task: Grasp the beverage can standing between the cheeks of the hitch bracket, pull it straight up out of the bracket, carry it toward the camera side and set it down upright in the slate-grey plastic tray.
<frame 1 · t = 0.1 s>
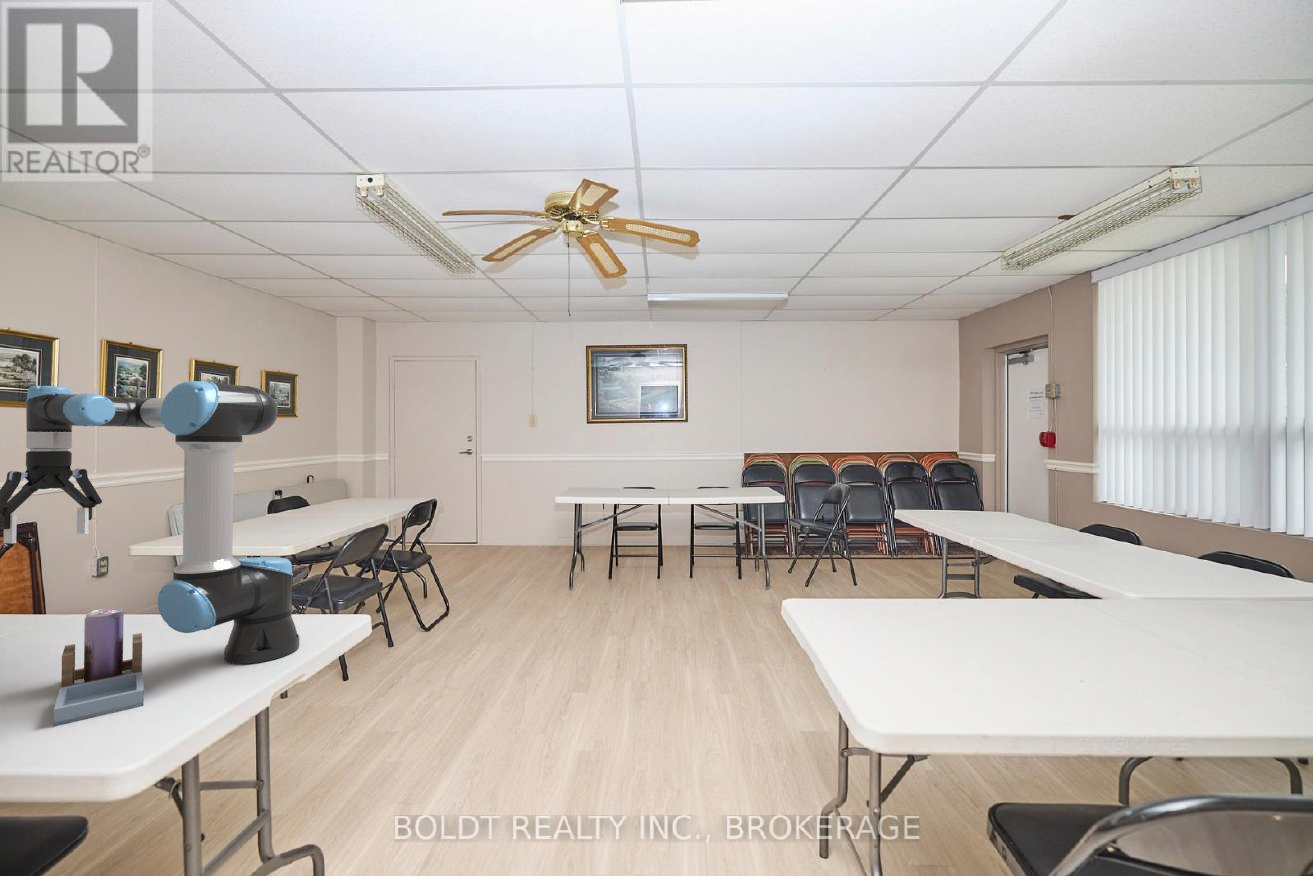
hand: (48, 538, 136), 28 cm above the table, fingers open, 13 cm apart
hitch bracket: (103, 681, 121), on the table
beverage can: (103, 682, 121), resting in hitch bracket
tray: (101, 704, 110), on the table
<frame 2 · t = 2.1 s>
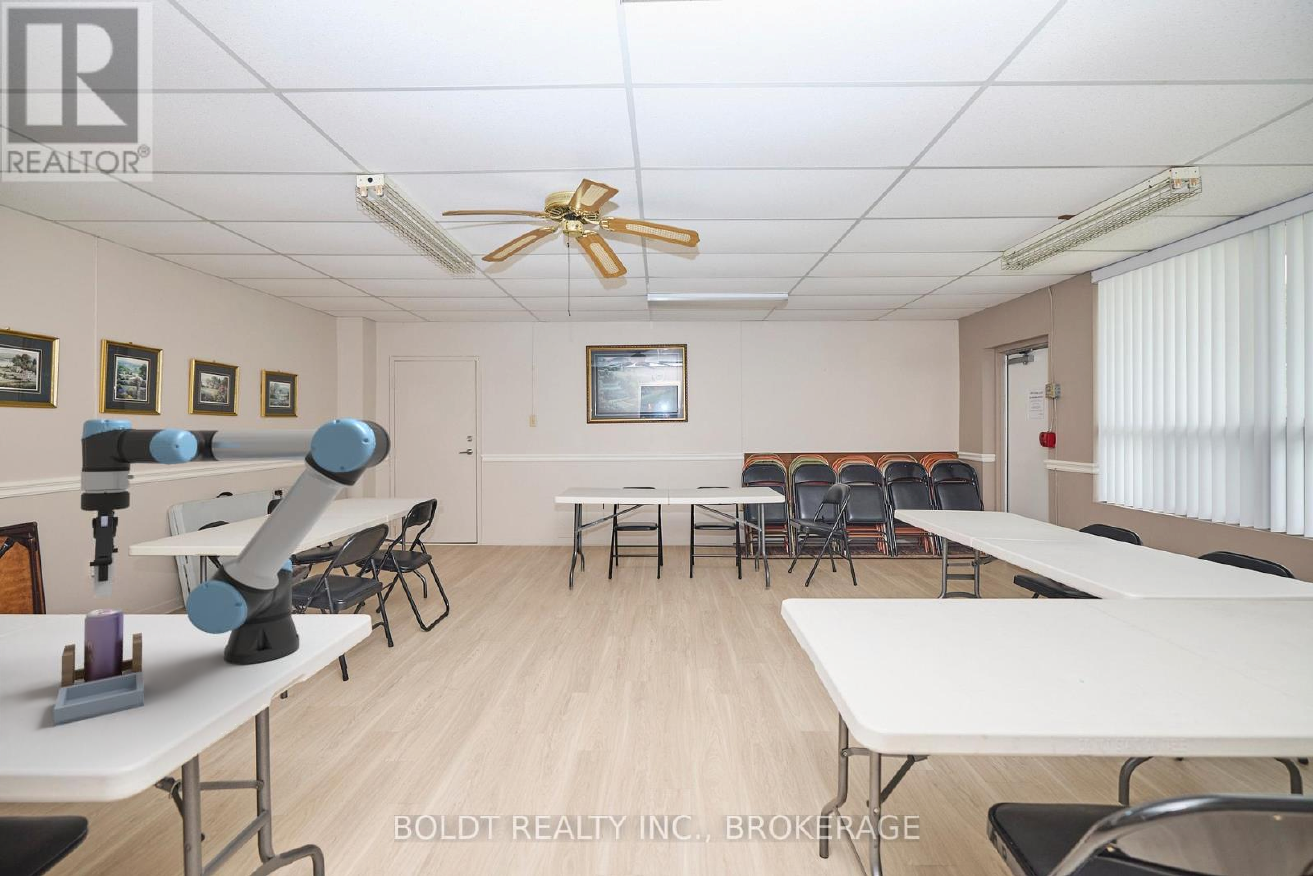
hand: (104, 590, 121), 20 cm above the table, fingers open, 13 cm apart
nothing on the table moved.
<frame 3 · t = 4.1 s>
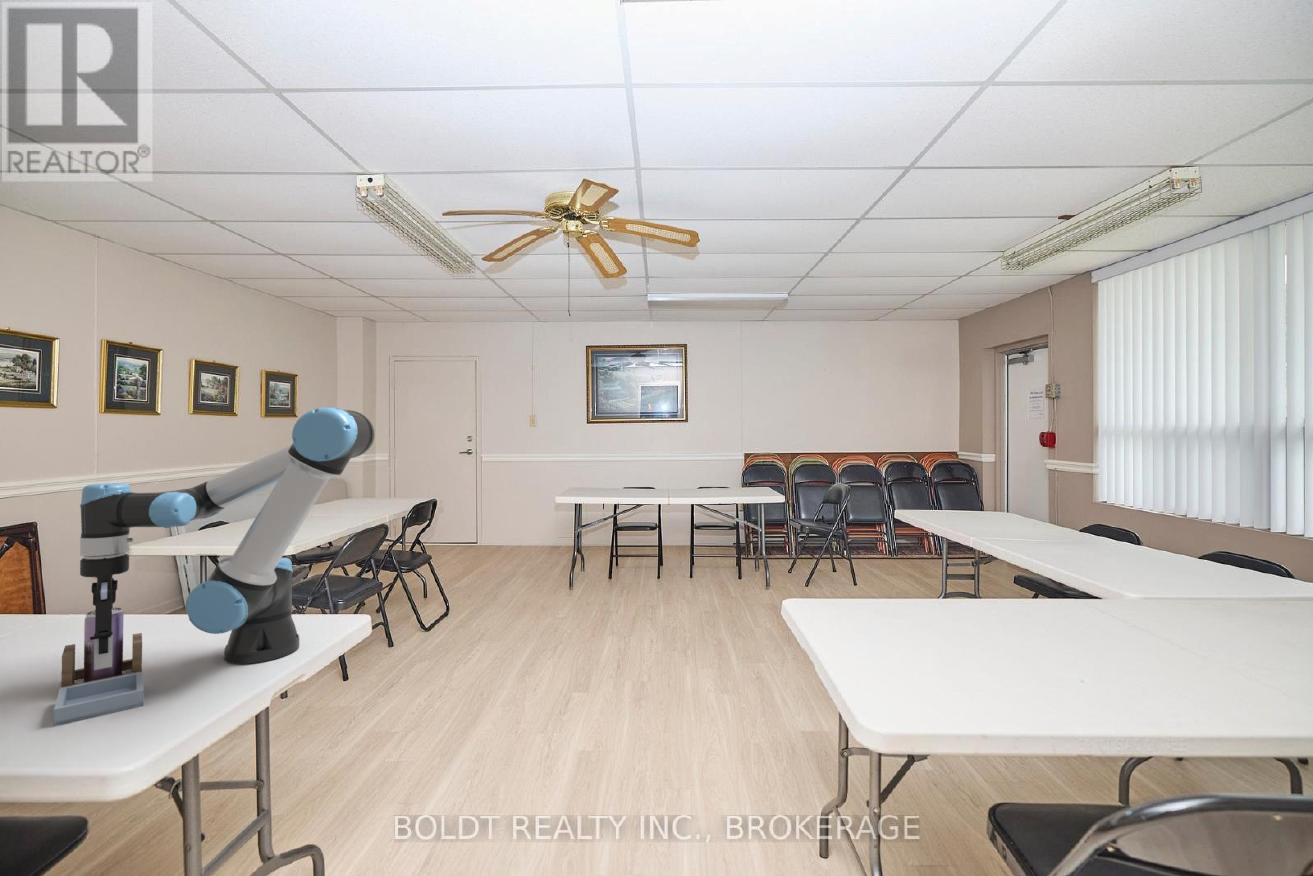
hand: (103, 663, 121), 4 cm above the table, fingers closed on beverage can, 6 cm apart
beverage can: (103, 682, 121), resting in hitch bracket, touching gripper
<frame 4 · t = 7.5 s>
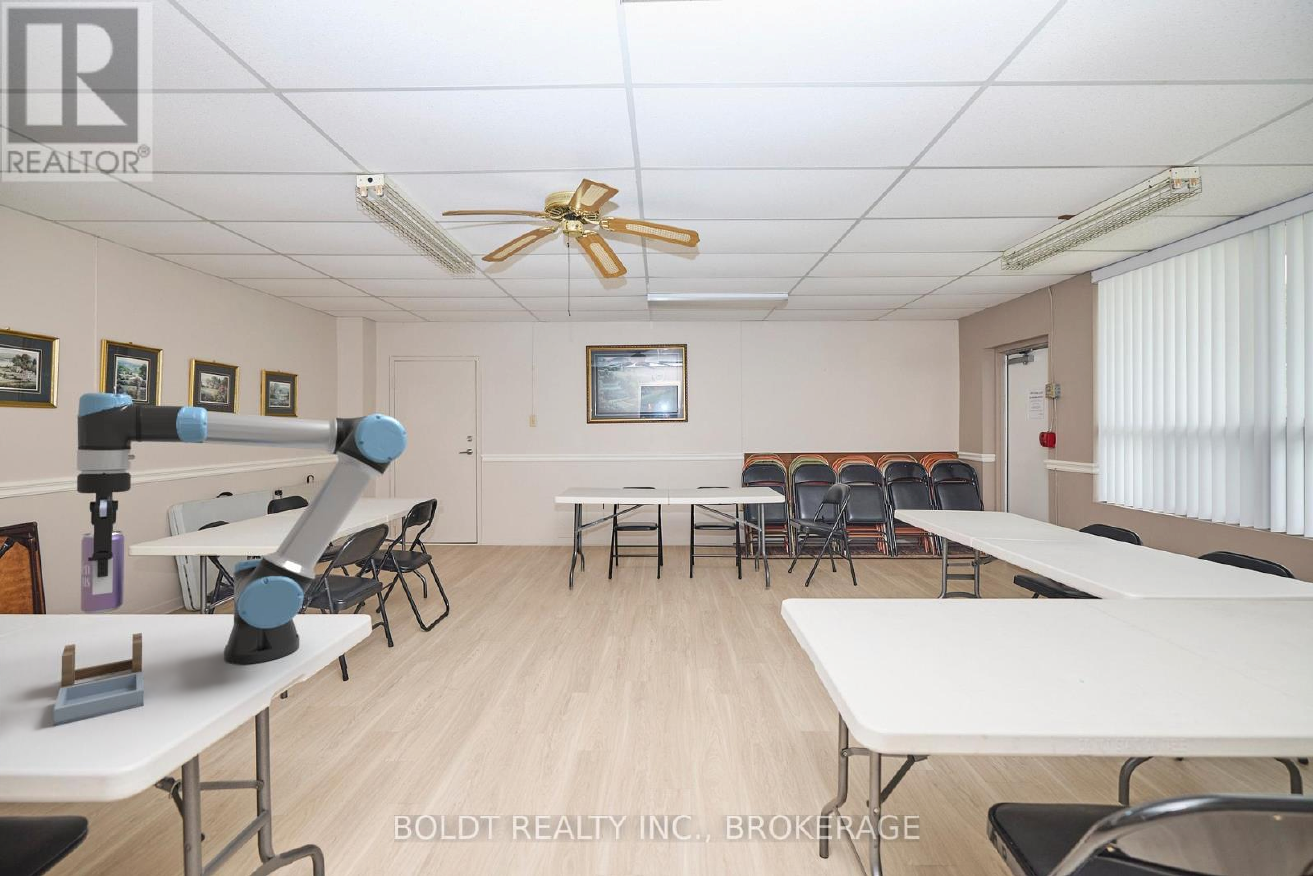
hand: (103, 589, 110), 22 cm above the table, fingers closed on beverage can, 6 cm apart
beverage can: (102, 610, 110), point 18 cm above the table, touching gripper
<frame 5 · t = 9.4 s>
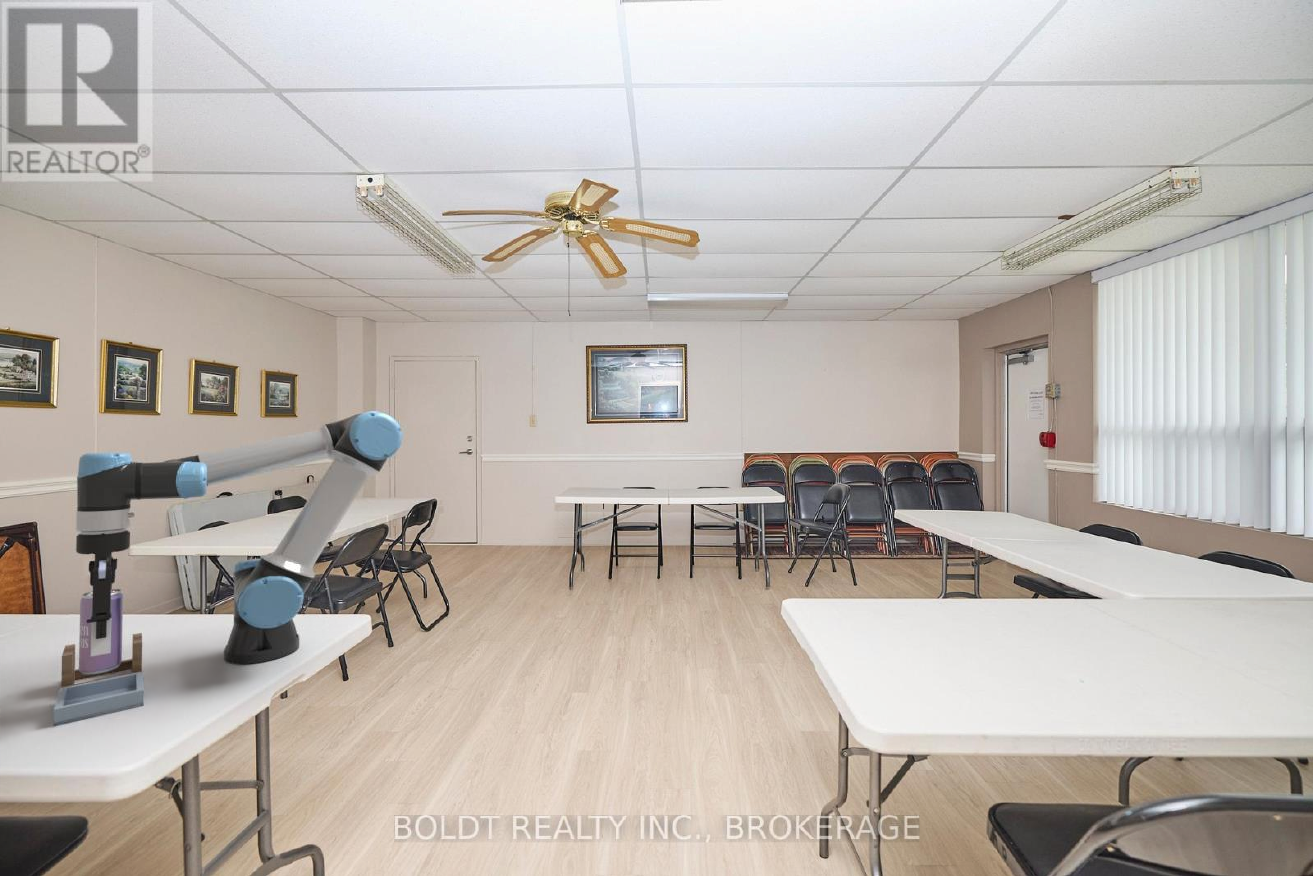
hand: (101, 649, 110), 11 cm above the table, fingers closed on beverage can, 6 cm apart
beverage can: (100, 670, 110), point 7 cm above the table, touching gripper
when the fingers open (6 cm above the table, at t = 10.8 s): beverage can drops 1 cm, resting on tray.
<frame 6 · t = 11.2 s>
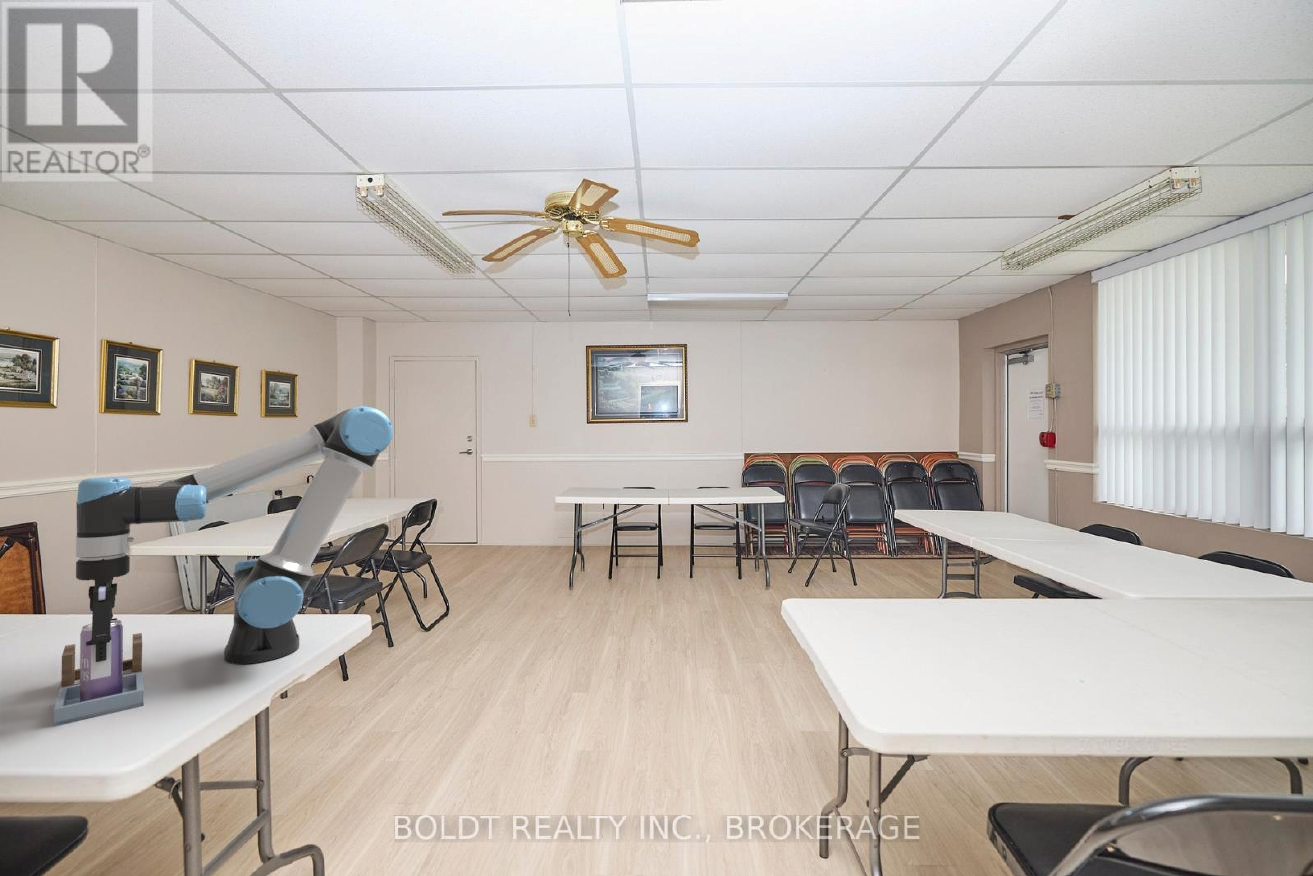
hand: (102, 667, 110), 7 cm above the table, fingers open, 11 cm apart
beverage can: (101, 702, 110), resting on tray
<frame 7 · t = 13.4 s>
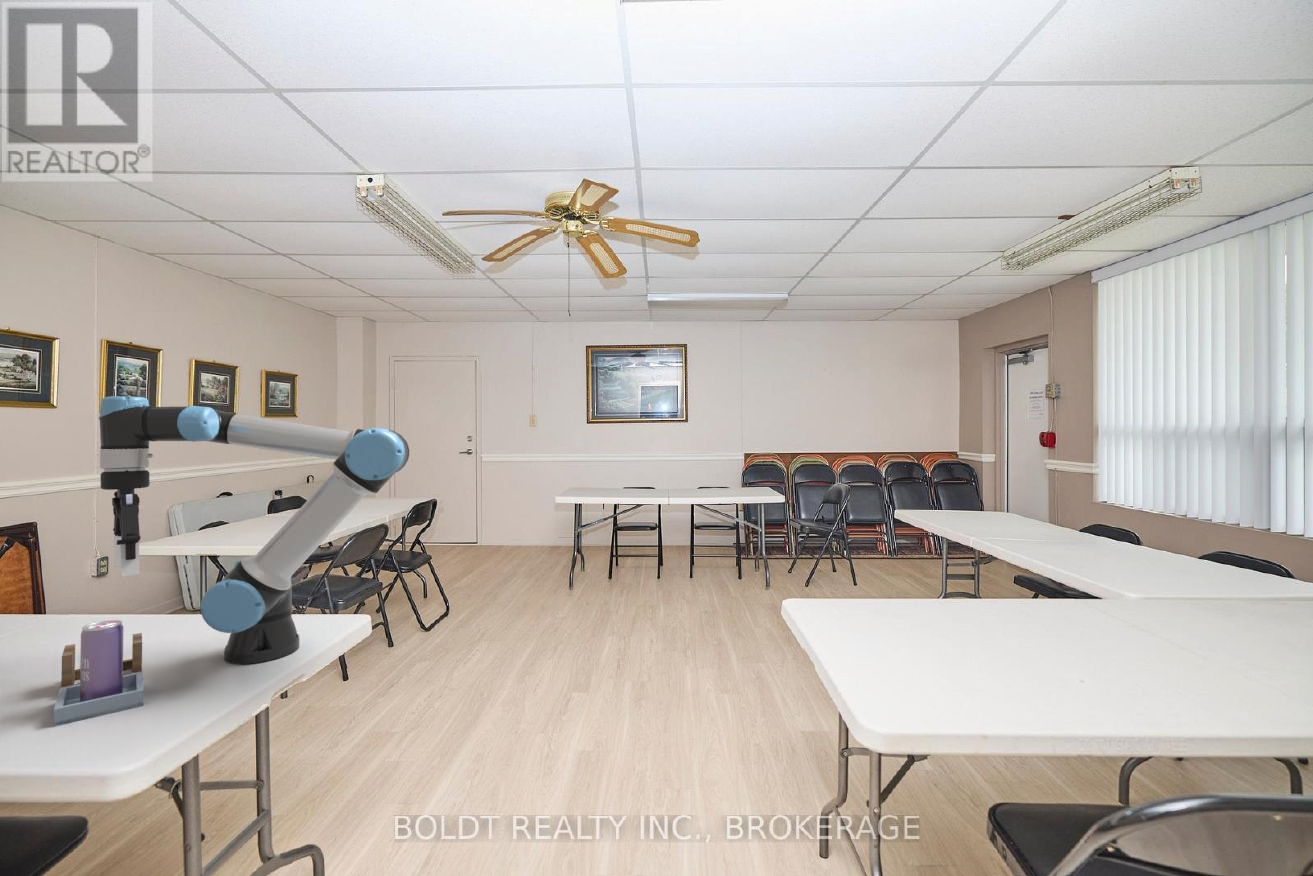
hand: (126, 570, 119), 24 cm above the table, fingers open, 13 cm apart
nothing on the table moved.
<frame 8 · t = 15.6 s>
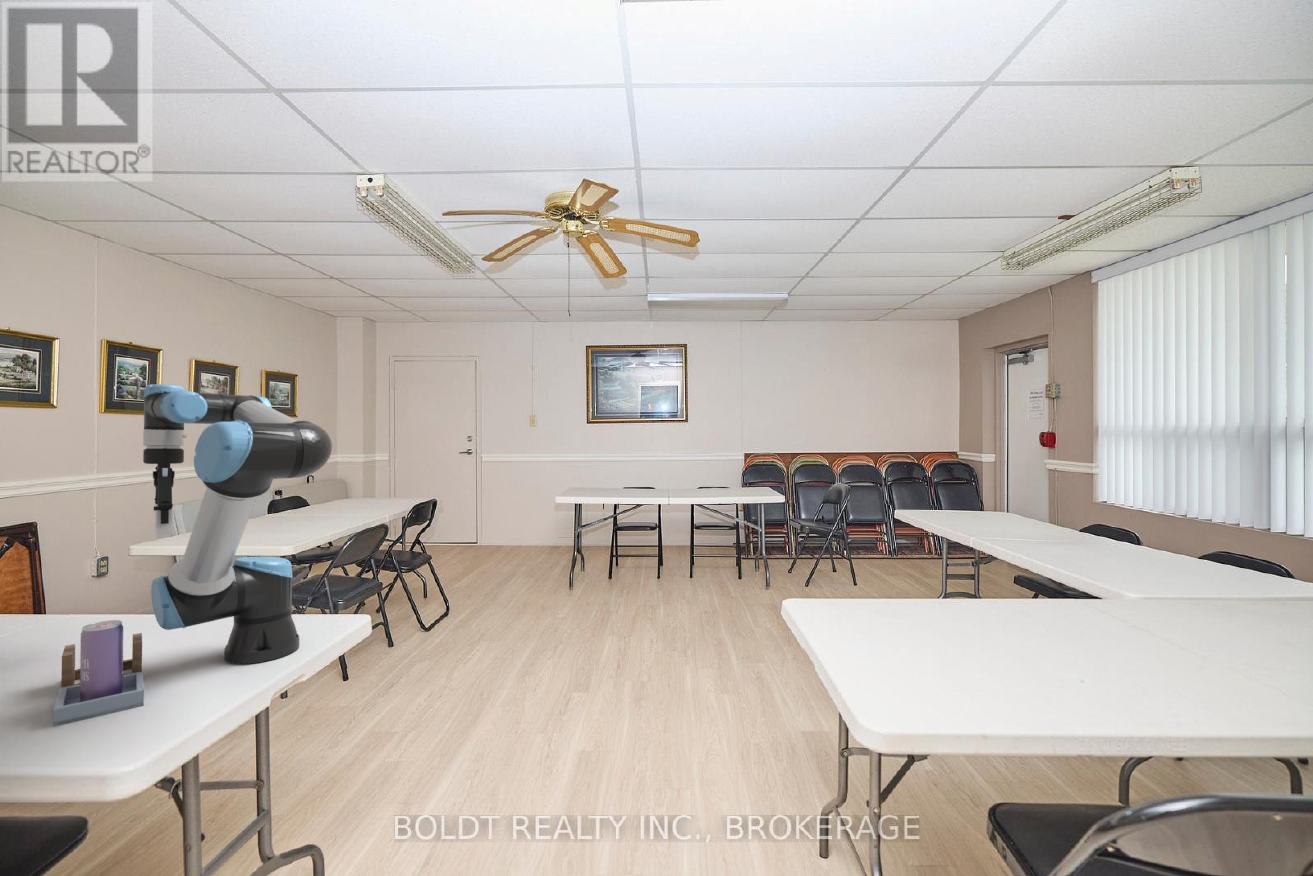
hand: (162, 533, 138), 29 cm above the table, fingers open, 13 cm apart
nothing on the table moved.
at the end: beverage can inside the target area on the tray (0.1 cm from its centre), point 0.4 cm above the tray's base; beverage can tilted 0°; the gripper is holding nothing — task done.
